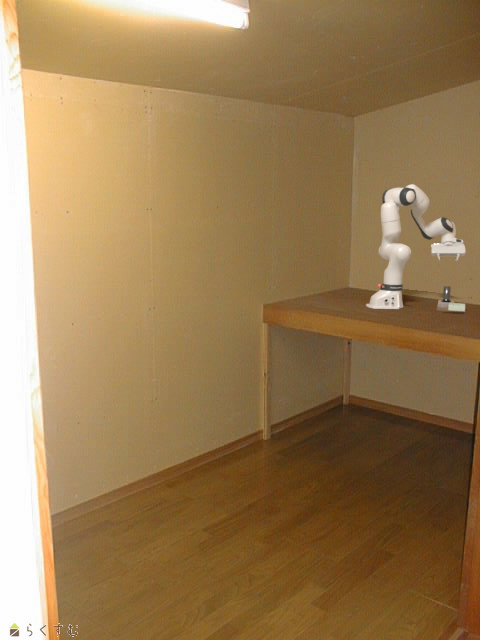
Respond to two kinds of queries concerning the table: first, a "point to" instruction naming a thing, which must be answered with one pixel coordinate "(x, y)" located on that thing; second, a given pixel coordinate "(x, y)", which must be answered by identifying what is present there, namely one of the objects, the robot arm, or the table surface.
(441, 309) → the tool board
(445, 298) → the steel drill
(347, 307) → the table surface
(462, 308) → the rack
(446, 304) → the socket
